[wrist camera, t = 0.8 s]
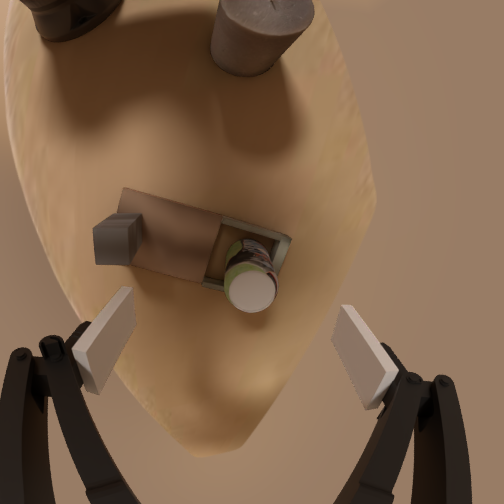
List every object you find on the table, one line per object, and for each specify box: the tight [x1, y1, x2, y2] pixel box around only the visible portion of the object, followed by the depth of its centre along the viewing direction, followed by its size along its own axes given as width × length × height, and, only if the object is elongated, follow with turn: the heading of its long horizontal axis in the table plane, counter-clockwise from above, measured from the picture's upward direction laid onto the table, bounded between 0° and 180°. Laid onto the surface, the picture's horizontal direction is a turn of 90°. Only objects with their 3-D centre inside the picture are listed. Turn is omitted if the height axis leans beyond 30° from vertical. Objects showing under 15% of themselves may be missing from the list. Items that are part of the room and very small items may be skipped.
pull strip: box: [93, 188, 292, 292], centre depth 33 cm, size 10×24×10 cm, turn 70°
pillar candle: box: [210, 0, 314, 77], centre depth 23 cm, size 10×10×15 cm
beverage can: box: [224, 239, 279, 313], centre depth 34 cm, size 6×7×12 cm
